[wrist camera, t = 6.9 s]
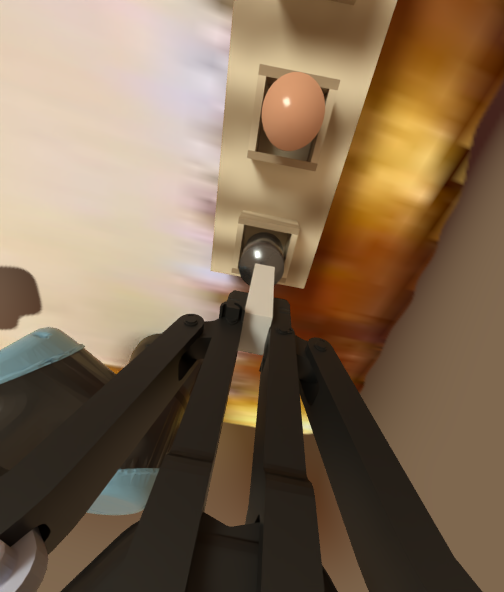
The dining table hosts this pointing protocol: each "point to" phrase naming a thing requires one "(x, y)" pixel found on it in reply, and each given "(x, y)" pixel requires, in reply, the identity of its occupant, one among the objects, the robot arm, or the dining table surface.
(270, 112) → the knob middle
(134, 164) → the dining table surface
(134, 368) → the robot arm
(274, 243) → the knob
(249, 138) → the beige long block
